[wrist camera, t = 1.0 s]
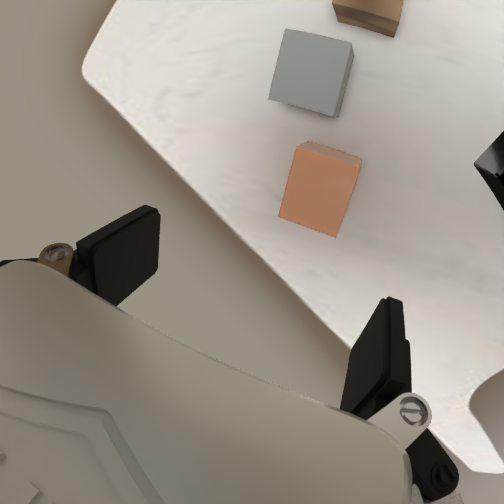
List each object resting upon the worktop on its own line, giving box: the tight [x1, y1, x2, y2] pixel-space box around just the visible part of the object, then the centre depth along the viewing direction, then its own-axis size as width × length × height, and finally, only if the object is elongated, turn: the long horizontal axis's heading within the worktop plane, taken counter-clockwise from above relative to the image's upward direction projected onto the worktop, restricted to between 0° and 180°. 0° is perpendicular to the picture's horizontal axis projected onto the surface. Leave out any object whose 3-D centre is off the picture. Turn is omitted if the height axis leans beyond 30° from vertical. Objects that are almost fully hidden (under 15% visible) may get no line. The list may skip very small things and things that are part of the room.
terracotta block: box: [278, 141, 361, 238], centre depth 25 cm, size 5×6×5 cm
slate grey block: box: [268, 29, 354, 117], centre depth 20 cm, size 5×6×5 cm
